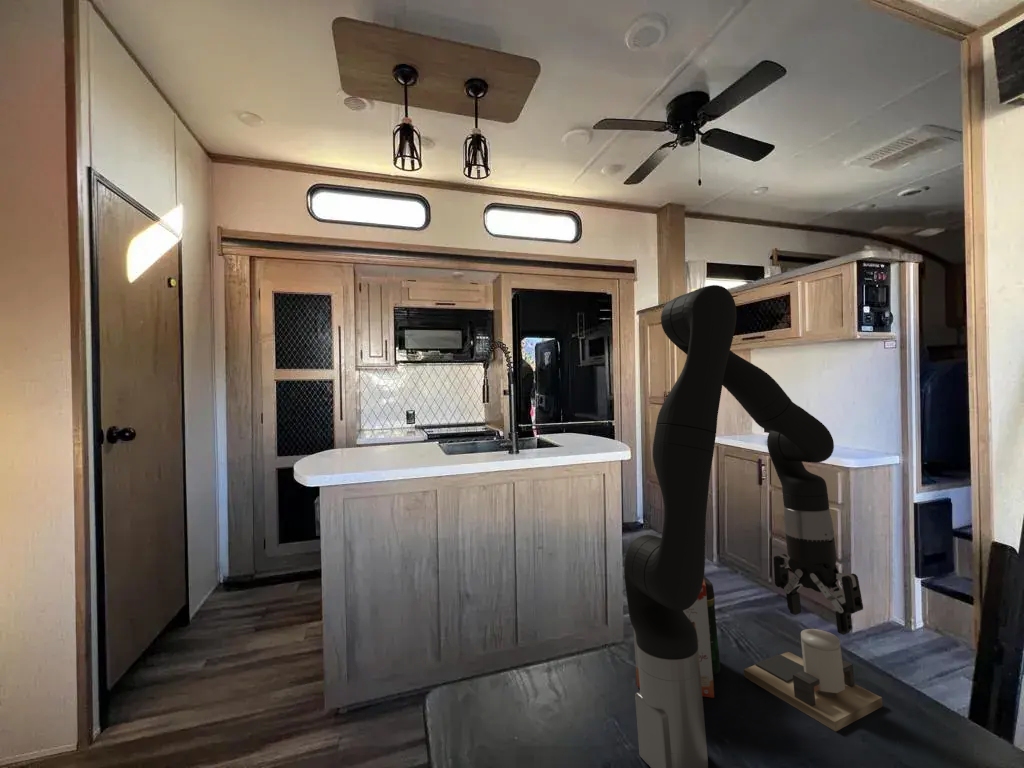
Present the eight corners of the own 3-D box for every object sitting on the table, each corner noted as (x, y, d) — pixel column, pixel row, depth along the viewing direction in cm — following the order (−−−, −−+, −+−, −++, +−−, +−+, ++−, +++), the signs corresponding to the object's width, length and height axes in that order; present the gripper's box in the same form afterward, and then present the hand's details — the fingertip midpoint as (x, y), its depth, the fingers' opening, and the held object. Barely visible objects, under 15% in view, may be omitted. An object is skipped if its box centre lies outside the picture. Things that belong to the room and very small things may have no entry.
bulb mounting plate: (835, 731, 72) (829, 667, 73) (744, 677, 88) (739, 625, 89) (882, 706, 78) (876, 646, 78) (788, 659, 93) (784, 609, 94)
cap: (824, 699, 76) (820, 650, 76) (791, 681, 81) (787, 636, 82) (857, 683, 79) (852, 637, 80) (823, 667, 85) (819, 624, 85)
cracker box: (637, 689, 86) (628, 579, 88) (638, 671, 92) (630, 568, 93) (716, 700, 82) (706, 583, 83) (712, 681, 87) (703, 572, 89)
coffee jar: (726, 678, 88) (718, 582, 89) (685, 679, 89) (677, 583, 90) (709, 651, 98) (701, 565, 99) (672, 652, 98) (665, 566, 99)
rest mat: (787, 683, 83) (786, 680, 83) (755, 665, 89) (755, 663, 89) (811, 672, 86) (811, 670, 86) (779, 655, 92) (779, 653, 92)
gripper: (759, 527, 87) (768, 612, 86) (837, 545, 74) (848, 646, 73) (785, 521, 90) (794, 603, 89) (864, 537, 77) (875, 634, 76)
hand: (818, 622), depth 81 cm, fingers open, 8 cm apart
